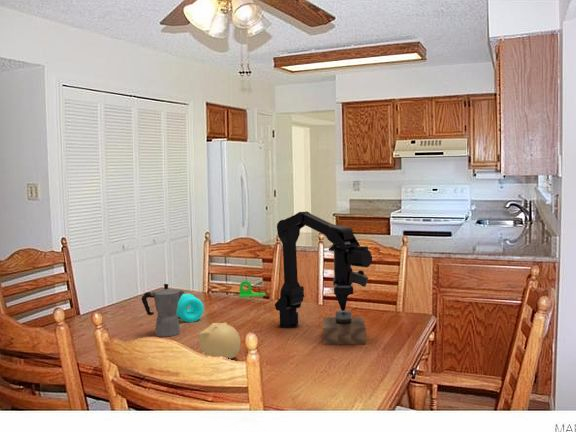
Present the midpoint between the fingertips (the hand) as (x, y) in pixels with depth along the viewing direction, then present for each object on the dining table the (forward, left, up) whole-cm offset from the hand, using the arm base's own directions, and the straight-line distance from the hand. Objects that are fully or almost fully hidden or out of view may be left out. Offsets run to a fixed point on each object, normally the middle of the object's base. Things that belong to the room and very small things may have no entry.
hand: (343, 310), depth 187 cm
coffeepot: (-64, +6, -10) cm, 65 cm away
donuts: (-60, +26, -10) cm, 66 cm away
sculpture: (-38, -21, -10) cm, 45 cm away
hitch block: (0, 0, -10) cm, 10 cm away
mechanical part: (-40, +68, -10) cm, 79 cm away
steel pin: (0, 0, -9) cm, 9 cm away
